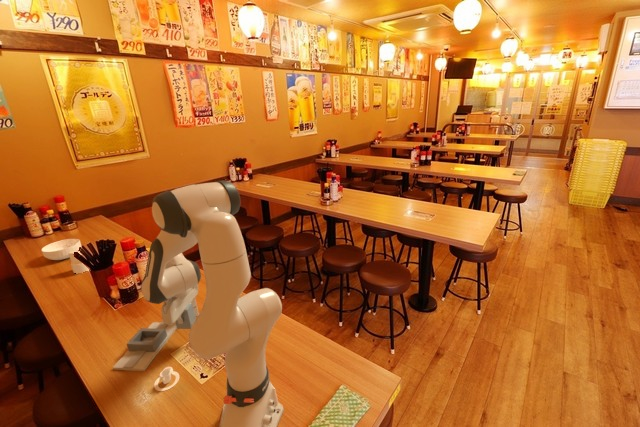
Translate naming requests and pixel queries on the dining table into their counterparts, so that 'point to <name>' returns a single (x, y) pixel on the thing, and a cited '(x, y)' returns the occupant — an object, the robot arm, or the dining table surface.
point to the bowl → (61, 249)
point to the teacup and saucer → (166, 378)
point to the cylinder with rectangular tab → (77, 263)
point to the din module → (187, 318)
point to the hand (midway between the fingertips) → (185, 317)
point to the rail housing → (145, 346)
